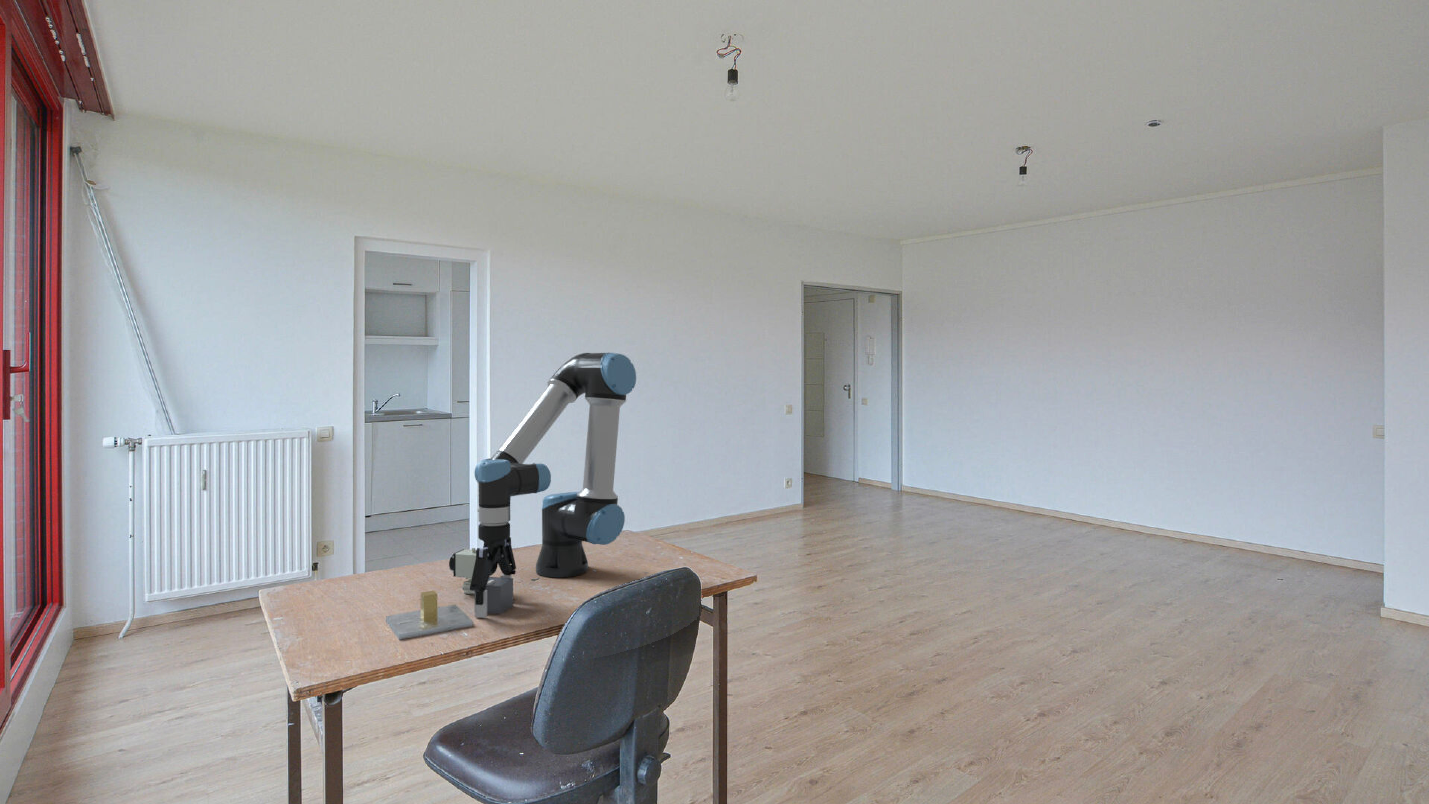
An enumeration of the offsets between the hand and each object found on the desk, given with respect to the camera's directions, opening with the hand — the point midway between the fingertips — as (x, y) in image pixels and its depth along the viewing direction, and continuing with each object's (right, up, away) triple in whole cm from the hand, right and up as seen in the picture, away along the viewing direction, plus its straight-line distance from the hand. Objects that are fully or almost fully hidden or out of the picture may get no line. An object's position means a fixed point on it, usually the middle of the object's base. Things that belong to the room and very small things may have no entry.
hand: (493, 608), depth 181 cm
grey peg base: (-12, 0, -11) cm, 16 cm away
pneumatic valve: (-9, 0, +13) cm, 16 cm away
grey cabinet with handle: (0, 0, 0) cm, 0 cm away
